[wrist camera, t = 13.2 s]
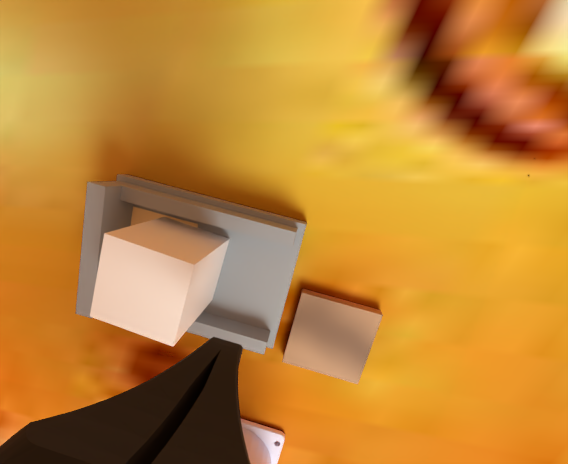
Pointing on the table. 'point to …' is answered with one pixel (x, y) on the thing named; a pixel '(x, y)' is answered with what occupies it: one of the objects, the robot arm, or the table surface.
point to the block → (157, 277)
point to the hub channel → (237, 262)
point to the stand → (331, 336)
